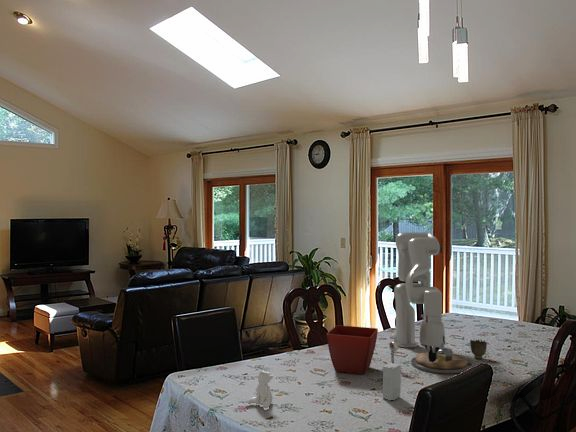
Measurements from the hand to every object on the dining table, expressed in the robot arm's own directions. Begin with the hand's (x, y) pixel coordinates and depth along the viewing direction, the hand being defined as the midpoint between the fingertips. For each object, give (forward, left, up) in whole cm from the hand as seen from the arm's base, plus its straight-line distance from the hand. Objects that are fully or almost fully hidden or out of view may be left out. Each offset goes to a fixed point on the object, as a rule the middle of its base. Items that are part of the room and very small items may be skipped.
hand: (432, 361), depth 224 cm
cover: (+1, +10, -1) cm, 10 cm away
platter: (-1, +10, -3) cm, 10 cm away
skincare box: (+4, -41, -4) cm, 42 cm away
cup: (+7, +32, -4) cm, 33 cm away
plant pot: (-27, -21, -4) cm, 34 cm away
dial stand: (-15, -8, -4) cm, 17 cm away
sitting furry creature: (-27, -77, -4) cm, 82 cm away
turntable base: (-1, +10, -4) cm, 11 cm away
